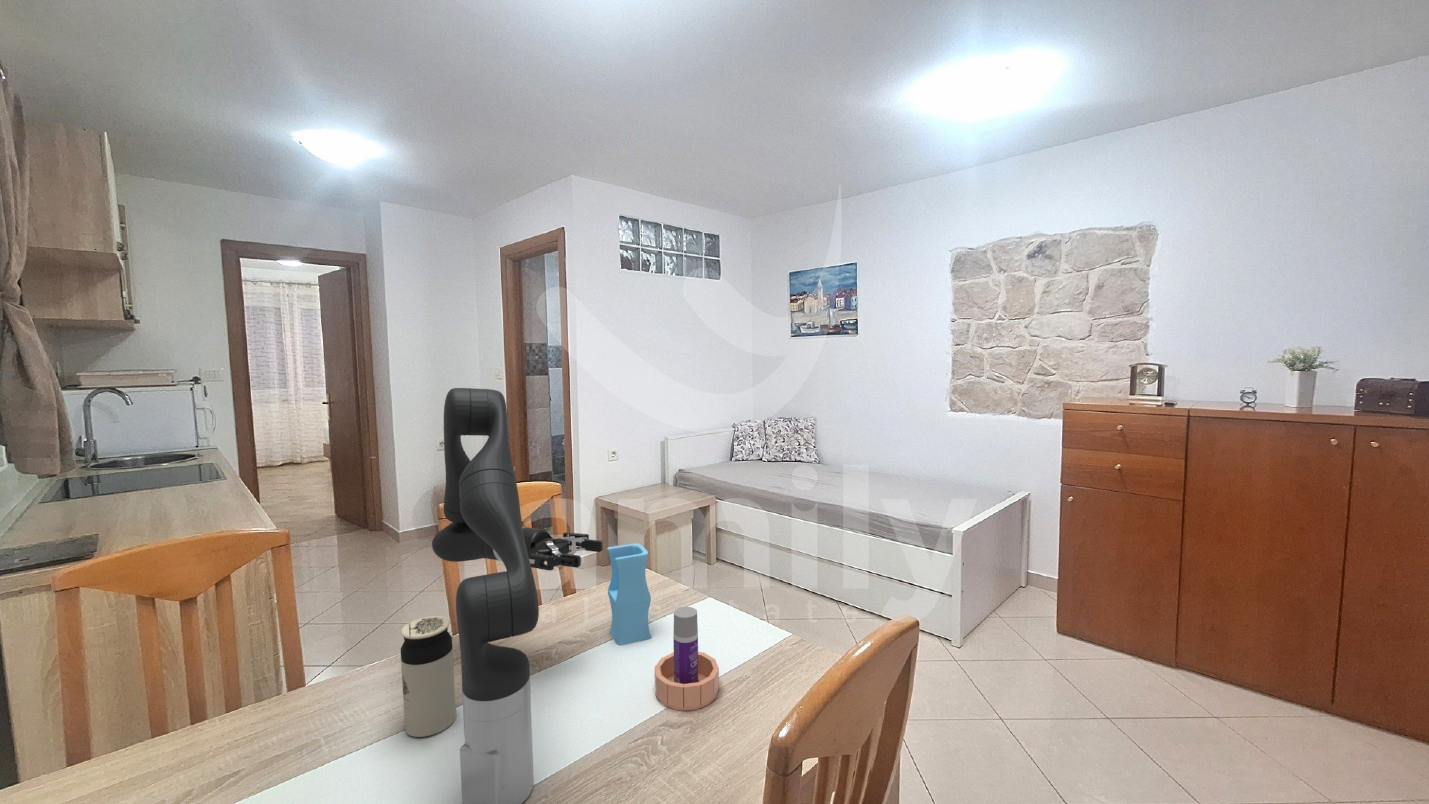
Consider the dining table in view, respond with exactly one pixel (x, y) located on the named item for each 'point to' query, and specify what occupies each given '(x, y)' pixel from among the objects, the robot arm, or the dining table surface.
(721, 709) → the dining table surface
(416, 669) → the travel mug
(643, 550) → the vase
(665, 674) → the faceted terracotta pot
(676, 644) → the container
